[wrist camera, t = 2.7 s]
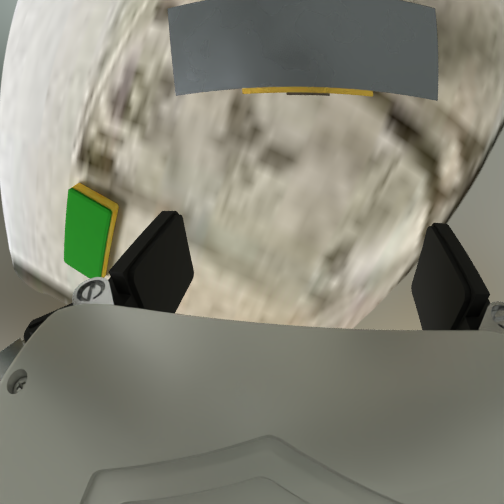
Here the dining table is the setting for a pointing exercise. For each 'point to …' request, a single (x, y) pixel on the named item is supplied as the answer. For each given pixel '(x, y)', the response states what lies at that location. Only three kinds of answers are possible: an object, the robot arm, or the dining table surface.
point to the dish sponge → (88, 230)
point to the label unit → (305, 47)
